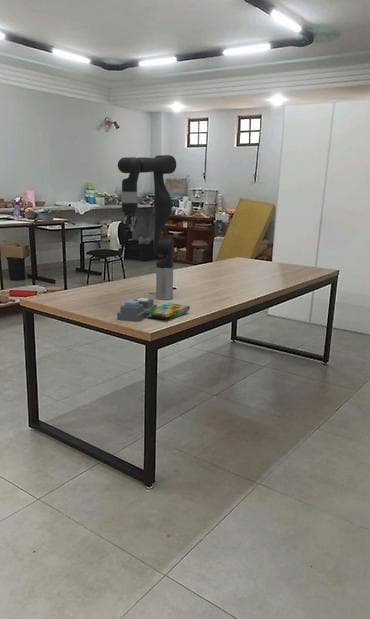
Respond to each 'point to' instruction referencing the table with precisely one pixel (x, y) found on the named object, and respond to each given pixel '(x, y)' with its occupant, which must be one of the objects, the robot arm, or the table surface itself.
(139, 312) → the grey plastic block
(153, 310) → the puzzle game
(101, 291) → the table surface
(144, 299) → the white key
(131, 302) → the blue key
